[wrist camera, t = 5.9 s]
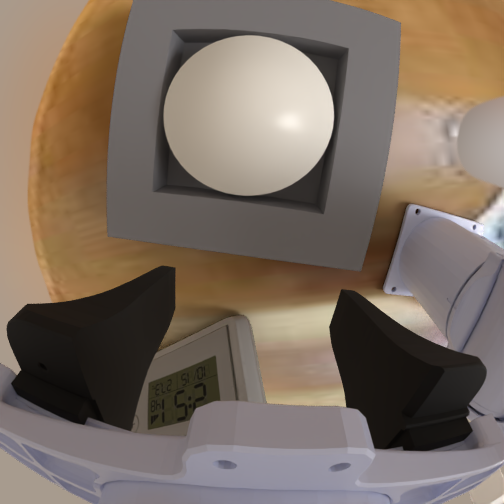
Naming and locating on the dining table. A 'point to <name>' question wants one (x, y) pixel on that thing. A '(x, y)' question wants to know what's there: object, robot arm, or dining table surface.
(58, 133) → the dining table surface
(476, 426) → the robot arm
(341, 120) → the button housing
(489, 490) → the milk
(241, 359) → the digital clock
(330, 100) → the button cap
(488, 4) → the dining table surface
